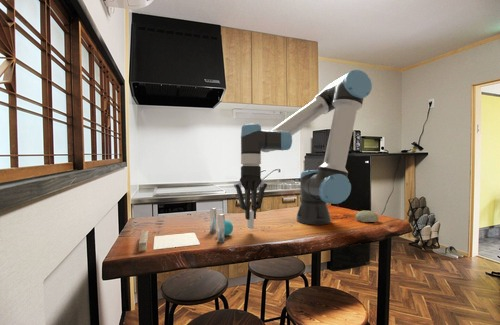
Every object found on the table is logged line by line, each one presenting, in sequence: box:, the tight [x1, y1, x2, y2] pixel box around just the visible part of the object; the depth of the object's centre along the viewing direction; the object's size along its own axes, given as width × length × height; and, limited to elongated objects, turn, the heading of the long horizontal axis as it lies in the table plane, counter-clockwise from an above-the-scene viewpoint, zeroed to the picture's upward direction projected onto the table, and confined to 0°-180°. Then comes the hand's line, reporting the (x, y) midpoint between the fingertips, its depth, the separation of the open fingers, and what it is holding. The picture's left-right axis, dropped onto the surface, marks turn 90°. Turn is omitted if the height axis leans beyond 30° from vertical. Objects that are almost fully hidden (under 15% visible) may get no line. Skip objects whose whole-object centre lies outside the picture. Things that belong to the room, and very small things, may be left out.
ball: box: [225, 219, 234, 237], centre depth 88 cm, size 6×6×6 cm
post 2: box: [216, 213, 226, 244], centre depth 81 cm, size 2×2×9 cm
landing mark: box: [152, 232, 201, 251], centre depth 82 cm, size 14×14×1 cm
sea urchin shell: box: [355, 210, 379, 223], centre depth 110 cm, size 9×8×8 cm
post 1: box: [209, 207, 217, 234], centre depth 92 cm, size 2×2×9 cm
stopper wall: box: [138, 230, 149, 253], centre depth 78 cm, size 2×14×2 cm, turn 21°
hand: (250, 227), depth 91 cm, fingers closed
